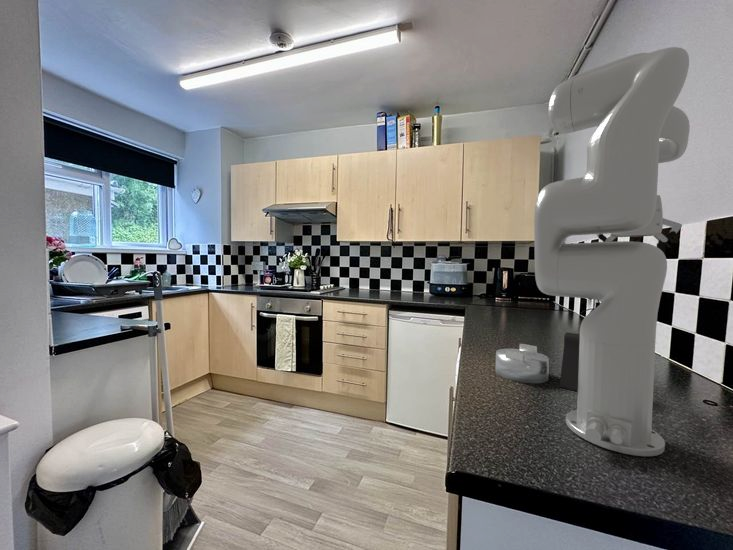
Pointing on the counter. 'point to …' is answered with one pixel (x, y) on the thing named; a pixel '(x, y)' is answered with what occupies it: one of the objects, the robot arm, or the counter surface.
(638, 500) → the counter surface
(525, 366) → the grey short round piece
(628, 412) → the robot arm
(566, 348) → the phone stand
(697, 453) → the counter surface
